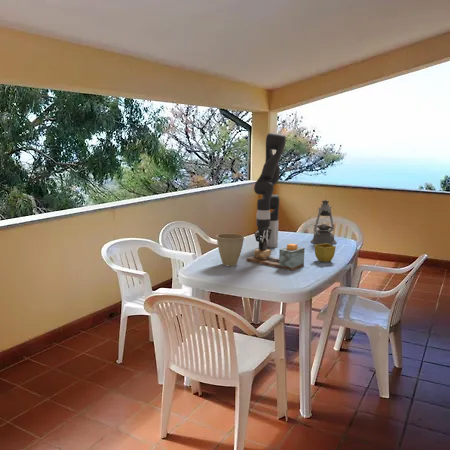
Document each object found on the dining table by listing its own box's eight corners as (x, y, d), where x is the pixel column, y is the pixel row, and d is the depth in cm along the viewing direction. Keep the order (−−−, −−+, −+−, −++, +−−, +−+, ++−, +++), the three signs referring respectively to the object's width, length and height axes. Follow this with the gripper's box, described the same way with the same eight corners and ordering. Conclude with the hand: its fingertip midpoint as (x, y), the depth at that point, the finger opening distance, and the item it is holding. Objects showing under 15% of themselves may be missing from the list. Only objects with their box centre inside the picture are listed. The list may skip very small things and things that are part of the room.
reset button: (286, 250, 246) (287, 244, 245) (290, 248, 249) (291, 243, 248) (293, 251, 243) (293, 245, 243) (297, 250, 246) (297, 244, 246)
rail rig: (246, 260, 260) (246, 243, 258) (259, 256, 269) (259, 240, 267) (291, 270, 241) (292, 252, 239) (303, 266, 250) (304, 248, 248)
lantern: (313, 237, 323) (315, 195, 318) (341, 241, 311) (343, 197, 306) (302, 242, 309) (303, 197, 303) (330, 246, 297) (332, 200, 292)
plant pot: (238, 269, 243) (238, 239, 240) (212, 266, 248) (212, 237, 245) (247, 262, 257) (247, 234, 254) (222, 259, 262) (222, 232, 259)
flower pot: (323, 263, 255) (323, 247, 253) (313, 260, 262) (313, 244, 261) (335, 261, 259) (336, 246, 257) (325, 258, 266) (326, 243, 265)
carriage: (254, 257, 260) (254, 241, 258) (260, 255, 264) (261, 239, 263) (264, 259, 255) (264, 243, 254) (270, 257, 260) (271, 241, 258)
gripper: (265, 215, 263) (264, 245, 266) (250, 218, 253) (249, 249, 256) (276, 217, 258) (275, 247, 262) (261, 220, 248) (260, 251, 251)
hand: (262, 248), depth 259 cm, fingers closed on carriage, 3 cm apart
